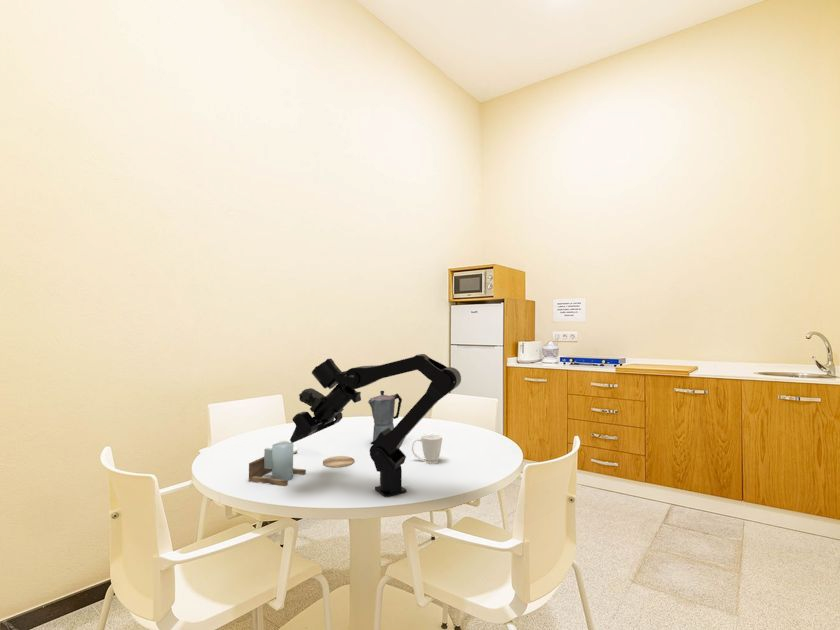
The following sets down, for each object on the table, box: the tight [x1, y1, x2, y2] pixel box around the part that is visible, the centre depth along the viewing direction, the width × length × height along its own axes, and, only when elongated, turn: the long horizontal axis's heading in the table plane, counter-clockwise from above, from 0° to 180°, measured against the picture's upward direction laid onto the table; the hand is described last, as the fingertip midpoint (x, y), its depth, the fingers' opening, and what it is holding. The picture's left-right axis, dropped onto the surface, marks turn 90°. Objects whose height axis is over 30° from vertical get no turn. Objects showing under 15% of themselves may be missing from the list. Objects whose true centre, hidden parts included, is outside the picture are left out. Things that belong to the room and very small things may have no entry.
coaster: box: [322, 455, 355, 468], centre depth 136 cm, size 10×10×1 cm
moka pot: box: [367, 390, 403, 442], centre depth 159 cm, size 10×15×20 cm, turn 135°
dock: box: [248, 456, 307, 487], centre depth 122 cm, size 12×10×5 cm
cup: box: [411, 433, 443, 464], centre depth 137 cm, size 7×10×8 cm
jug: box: [263, 441, 294, 481], centre depth 122 cm, size 9×6×10 cm, turn 73°
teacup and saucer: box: [277, 440, 299, 454], centre depth 147 cm, size 9×8×4 cm
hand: (300, 437), depth 120 cm, fingers open, 9 cm apart
